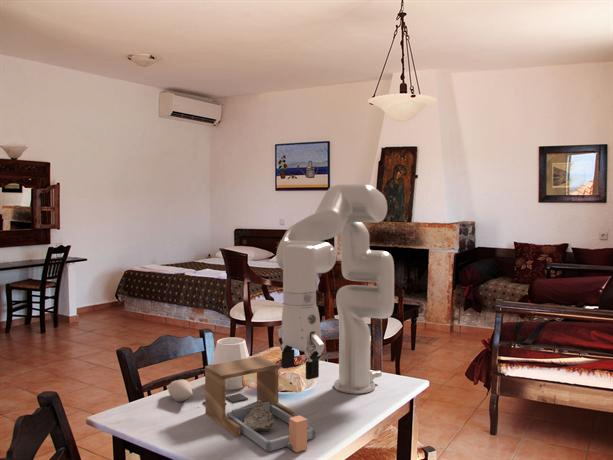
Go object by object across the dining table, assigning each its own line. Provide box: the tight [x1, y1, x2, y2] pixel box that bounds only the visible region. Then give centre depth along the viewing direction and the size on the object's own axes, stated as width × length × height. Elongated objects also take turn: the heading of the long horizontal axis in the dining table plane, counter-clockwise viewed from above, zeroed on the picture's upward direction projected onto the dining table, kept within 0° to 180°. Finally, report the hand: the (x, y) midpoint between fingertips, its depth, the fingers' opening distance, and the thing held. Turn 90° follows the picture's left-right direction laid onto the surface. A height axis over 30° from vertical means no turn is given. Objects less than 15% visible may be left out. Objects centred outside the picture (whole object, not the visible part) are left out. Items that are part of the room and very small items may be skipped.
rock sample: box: [241, 400, 275, 432], centre depth 139 cm, size 10×8×9 cm
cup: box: [211, 337, 250, 391], centre depth 172 cm, size 13×13×14 cm
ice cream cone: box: [167, 379, 193, 402], centre depth 158 cm, size 6×6×15 cm
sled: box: [227, 402, 316, 453], centre depth 136 cm, size 13×24×7 cm, turn 35°
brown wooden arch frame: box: [202, 355, 296, 438], centre depth 149 cm, size 17×26×13 cm, turn 35°
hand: (299, 372), depth 126 cm, fingers open, 9 cm apart
